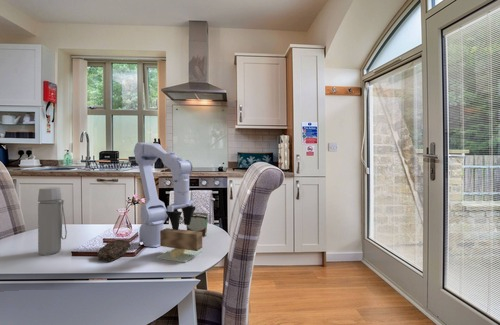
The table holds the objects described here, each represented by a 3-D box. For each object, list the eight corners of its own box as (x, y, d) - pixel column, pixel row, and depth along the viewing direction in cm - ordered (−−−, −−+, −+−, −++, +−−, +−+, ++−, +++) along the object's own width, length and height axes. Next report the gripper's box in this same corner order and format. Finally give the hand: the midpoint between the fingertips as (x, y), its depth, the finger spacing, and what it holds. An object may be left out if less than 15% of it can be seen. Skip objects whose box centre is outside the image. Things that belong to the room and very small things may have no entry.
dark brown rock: (115, 250, 106) (115, 237, 106) (134, 253, 103) (134, 240, 102) (88, 260, 95) (88, 246, 95) (110, 264, 92) (110, 249, 92)
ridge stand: (157, 258, 97) (157, 250, 97) (176, 248, 108) (176, 240, 108) (185, 262, 93) (185, 254, 93) (202, 251, 104) (202, 243, 104)
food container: (213, 233, 130) (213, 213, 130) (207, 236, 124) (208, 215, 124) (190, 231, 133) (190, 211, 133) (184, 234, 127) (184, 214, 127)
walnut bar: (160, 246, 101) (160, 230, 101) (166, 243, 105) (166, 228, 105) (196, 251, 96) (196, 234, 96) (202, 247, 100) (202, 231, 100)
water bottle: (33, 257, 97) (33, 189, 97) (43, 250, 105) (43, 187, 105) (62, 254, 100) (62, 188, 100) (70, 248, 107) (70, 186, 107)
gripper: (179, 194, 93) (179, 233, 93) (200, 190, 107) (200, 223, 107) (162, 193, 95) (162, 231, 95) (185, 189, 109) (185, 222, 109)
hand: (181, 227), depth 101 cm, fingers open, 7 cm apart
